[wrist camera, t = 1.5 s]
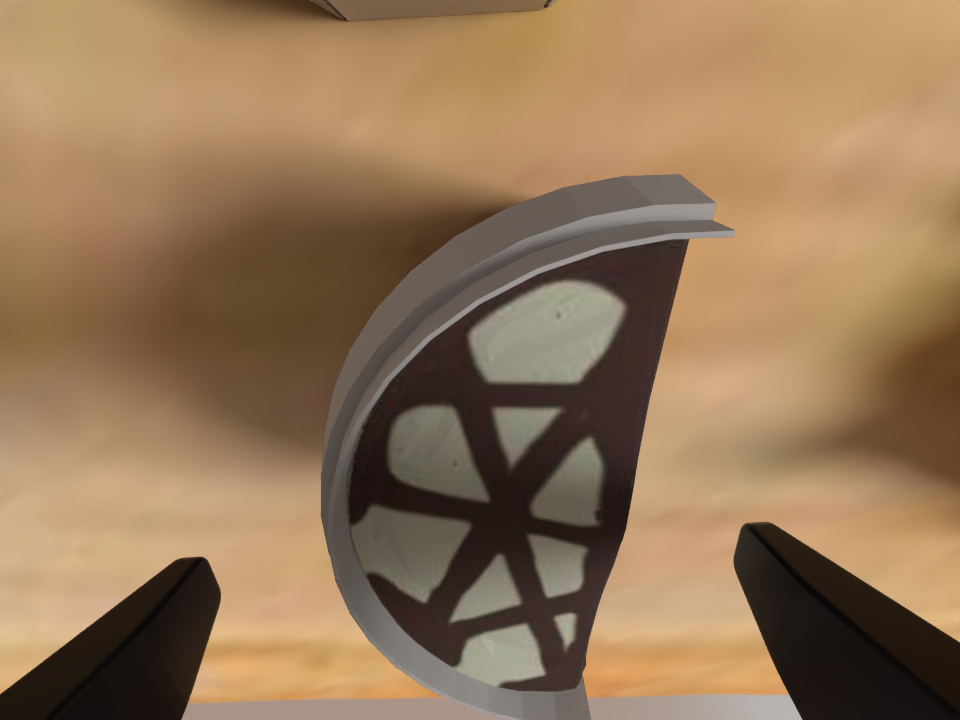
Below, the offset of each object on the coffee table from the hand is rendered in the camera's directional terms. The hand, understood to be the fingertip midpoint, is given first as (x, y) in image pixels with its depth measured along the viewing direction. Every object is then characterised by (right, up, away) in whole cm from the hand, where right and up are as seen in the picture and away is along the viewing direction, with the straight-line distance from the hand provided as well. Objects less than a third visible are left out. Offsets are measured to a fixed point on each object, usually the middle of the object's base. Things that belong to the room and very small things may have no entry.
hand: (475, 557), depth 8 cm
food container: (0, +4, +9) cm, 11 cm away
